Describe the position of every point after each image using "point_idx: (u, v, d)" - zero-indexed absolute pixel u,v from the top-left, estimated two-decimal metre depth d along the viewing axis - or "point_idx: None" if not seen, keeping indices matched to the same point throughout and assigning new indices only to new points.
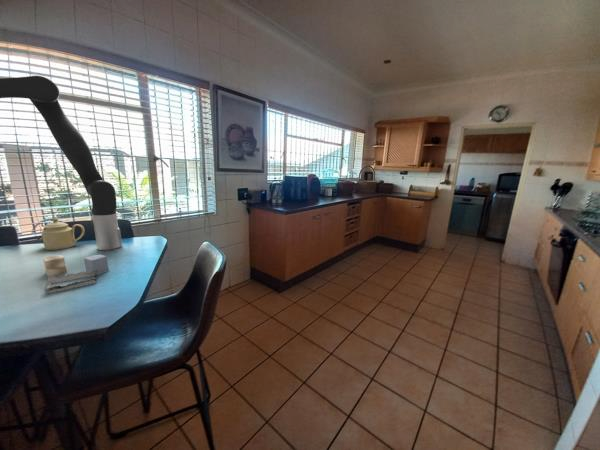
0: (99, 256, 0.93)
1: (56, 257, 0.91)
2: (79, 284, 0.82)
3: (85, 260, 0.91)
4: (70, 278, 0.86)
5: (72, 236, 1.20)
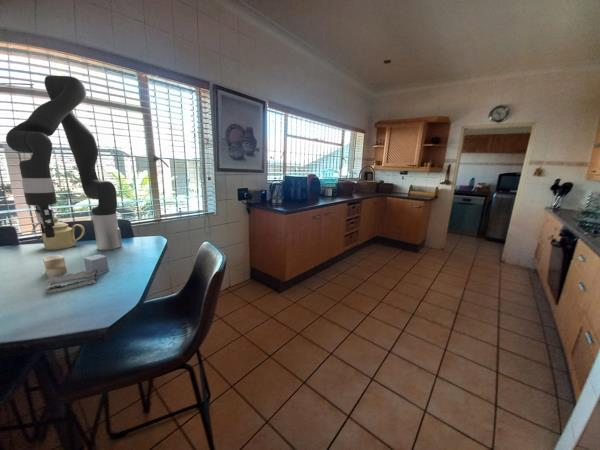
0: (99, 256, 0.93)
1: (56, 257, 0.91)
2: (79, 284, 0.82)
3: (85, 260, 0.91)
4: (71, 278, 0.87)
5: (72, 236, 1.20)
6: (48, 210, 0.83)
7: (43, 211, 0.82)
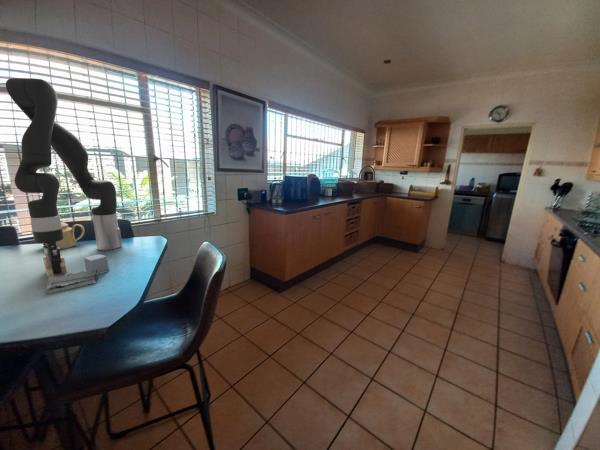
0: (99, 256, 0.93)
1: None
2: (80, 284, 0.82)
3: (85, 260, 0.91)
4: (71, 278, 0.87)
5: (72, 236, 1.20)
6: (56, 250, 0.86)
7: (52, 252, 0.85)
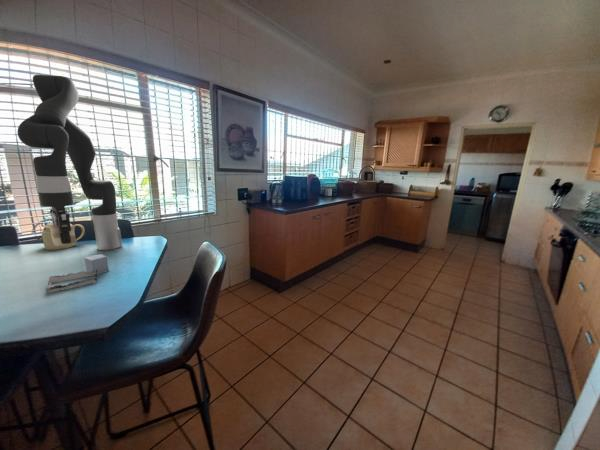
0: (99, 256, 0.93)
1: (64, 225, 0.79)
2: (80, 283, 0.82)
3: (85, 260, 0.91)
4: (71, 278, 0.87)
5: None
6: (65, 215, 0.75)
7: (60, 216, 0.74)
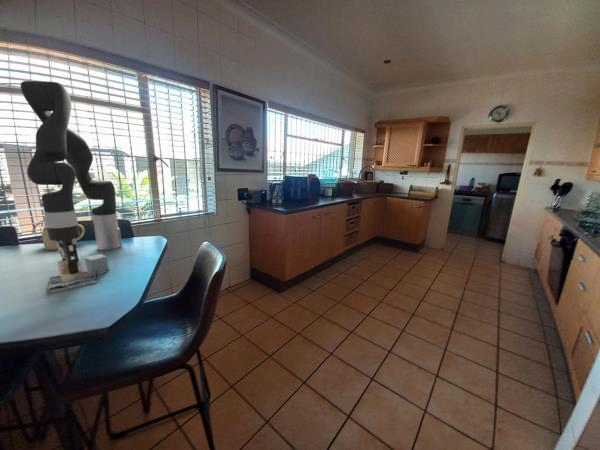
0: (100, 256, 0.94)
1: None
2: (80, 284, 0.83)
3: (86, 259, 0.92)
4: None
5: None
6: (72, 245, 0.77)
7: (67, 247, 0.76)
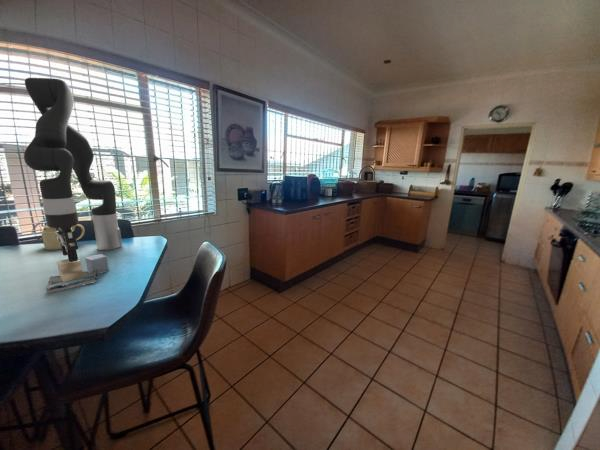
0: (100, 256, 0.94)
1: None
2: (80, 283, 0.83)
3: (86, 259, 0.92)
4: None
5: None
6: (71, 233, 0.76)
7: (66, 234, 0.75)
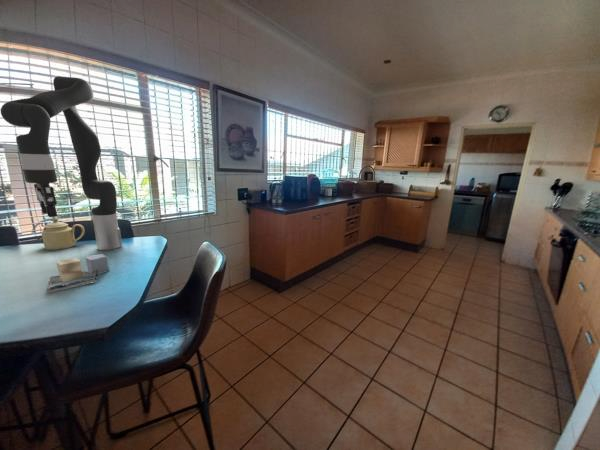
0: (100, 256, 0.94)
1: (71, 260, 0.83)
2: (80, 283, 0.83)
3: (86, 259, 0.92)
4: None
5: (72, 236, 1.20)
6: (49, 187, 0.79)
7: (44, 189, 0.78)
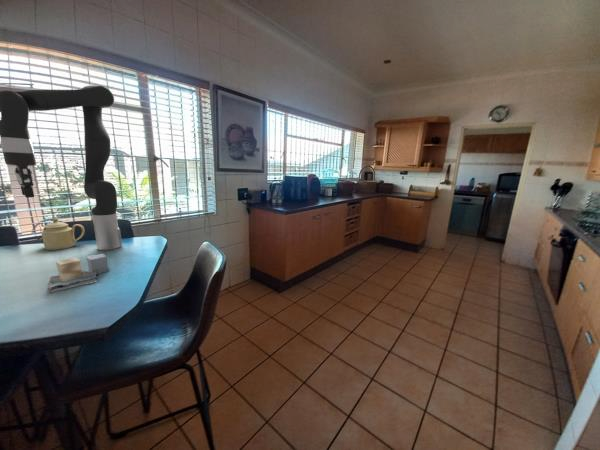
0: (100, 256, 0.94)
1: (71, 260, 0.83)
2: (81, 283, 0.83)
3: (87, 259, 0.92)
4: None
5: (72, 236, 1.20)
6: (26, 169, 0.85)
7: (21, 170, 0.84)
